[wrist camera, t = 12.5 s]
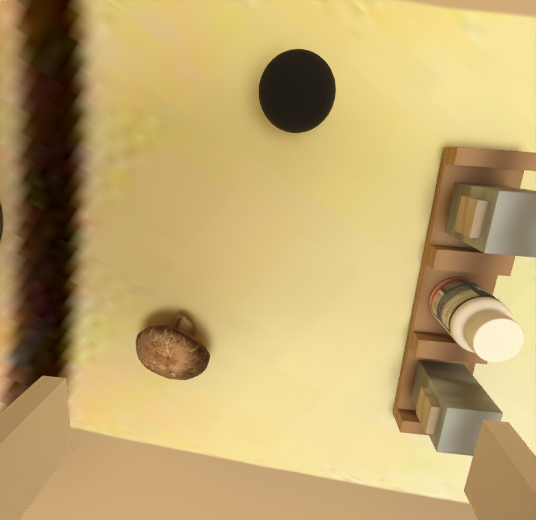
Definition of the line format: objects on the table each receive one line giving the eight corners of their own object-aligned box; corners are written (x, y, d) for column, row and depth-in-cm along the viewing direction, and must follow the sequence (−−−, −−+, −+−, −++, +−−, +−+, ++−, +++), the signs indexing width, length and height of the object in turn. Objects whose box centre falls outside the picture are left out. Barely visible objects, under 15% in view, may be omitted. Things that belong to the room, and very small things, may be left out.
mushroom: (178, 295, 39) (155, 352, 35) (233, 331, 43) (217, 386, 39) (138, 310, 44) (113, 361, 40) (190, 341, 48) (172, 390, 44)
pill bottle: (490, 306, 39) (545, 349, 30) (444, 332, 40) (485, 381, 32) (464, 266, 38) (514, 299, 30) (418, 294, 39) (453, 334, 31)
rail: (392, 412, 45) (417, 477, 36) (443, 147, 36) (492, 146, 27) (455, 419, 44) (495, 485, 35) (520, 153, 36) (595, 153, 27)
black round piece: (340, 101, 36) (357, 83, 26) (296, 149, 37) (298, 148, 28) (295, 55, 35) (296, 18, 25) (252, 105, 36) (238, 89, 27)
